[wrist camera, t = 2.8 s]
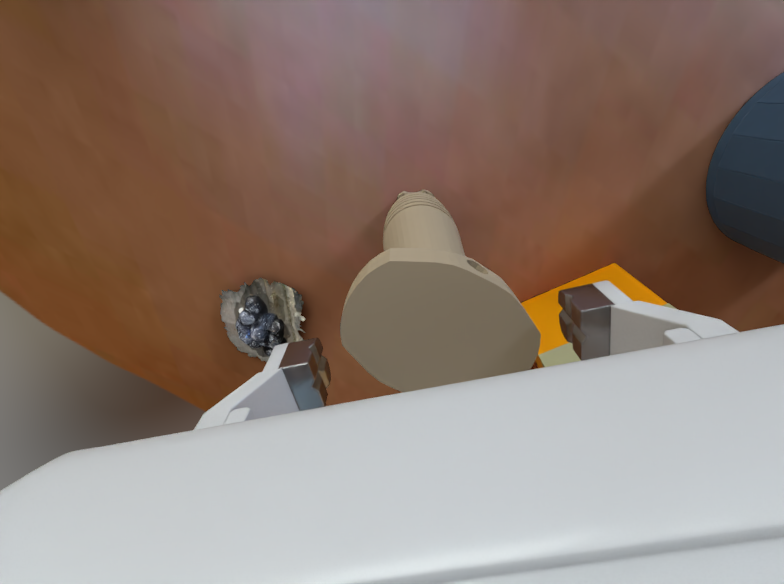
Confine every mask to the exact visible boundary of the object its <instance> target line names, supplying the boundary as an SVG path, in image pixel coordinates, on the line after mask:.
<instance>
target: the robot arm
mask: <svg viewBox="0 0 784 584" xmlns="http://www.w3.org/2000/svg"><path fill="white" fill-rule="evenodd" d="M558 303H559V304H560V306H561V307H562V308H563V309H562V311H561V312H560V314H559V323H560V327H561V331H562V334H563V336H564V338H565V339H566V340H567V342H570V343H572V344H573V350H574V352H575V353H576V354H577V356H578V357H579V358H580V360H581V361H576V362H571V363H565V364H560V365H554V366H549V367H543V368H538V369H532V370H526V371H521V372H515V373H510V374H504V375H499V376H493V377H487V378H482V379H476V380H471V381H465V382H460V383H454V384H448V385H443V386H437V387H432V388H426V389H420V390H415V391H409V392H404V393H398V394H392V395H387V396H381V397H376V398H370V399H364V400H359V401H353V402H348V403H342V404H336V405H331V406H325V405H326V400H327V396H328V393H327V390H326V388H327V387H328V386H329V385H330V381H331V373H330V367H329V363H328V360H327V358H325V357H324V356H322V351H323V346H322V344H321V341H320V340H319V339H318V338H313V339H307V340H301V341H296V342H291V343H284V344H280V345H276V346H274V348H273V350H272V353H271V355H270V357H269V359H268V361H267V363H266V365H265V368H264V370H263V372H260V373H257V374H256V375H255V376H253V377H252V378H251V379H249V380H248V381H247V382H245V383H244V384H243V385H241V386H240V387H239V388H237V389H236V390H235V391H233V392H232V393H231V394H229V395H228V396H227V397H225V398H224V399H223V400H221V401H220V402H219V403H217V404H216V405H215V406H213V407H212V408H211V409H209V410H208V411H207V412H205V413H204V414H203V416H202V417H201V419H200V420H199V422H198V424H197V426H196V428H195V429H194V430H192V431H186V432H181V433H175V434H170V435H164V436H158V437H153V438H148V439H142V440H136V441H130V442H125V443H119V444H114V445H109V446H103V447H96V448H90V449H84V450H78V451H73V452H69V453H66V454H64V455H62V456H60V457H57V458H55V459H54V460H52V461H50V462H48V463H46V464H45V465H43V466H41V467H39V468H37V469H36V470H34V471H32V472H31V473H29V474H27V475H26V476H24V477H22V478H21V479H19V480H17V481H16V482H14V483H13V484H11V485H9V486H7V487H6V488H4V489H3V490H2V491H0V584H784V324H782V325H777V326H771V327H766V328H760V329H755V330H749V331H743V332H738V331H737V330H735V329H734V328H732V327H731V326H730V325H728V324H727V323H725V322H724V321H722V320H720V319H716V318H712V317H707V316H703V315H699V314H694V313H690V312H686V311H682V310H677V309H673V308H669V307H664V306H660V305H656V304H651V303H647V302H643V301H632V300H631V299H630V298H629V297H628V296H626V295H625V294H624V293H623V292H622V291H620V290H619V289H618V288H617V287H616V286H614V285H613V284H612V283H611V282H610V281H607V280H604V281H600V282H596V283H591V284H587V285H582V286H577V287H573V288H568V289H564V290H560V291H559V293H558Z"/></svg>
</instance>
